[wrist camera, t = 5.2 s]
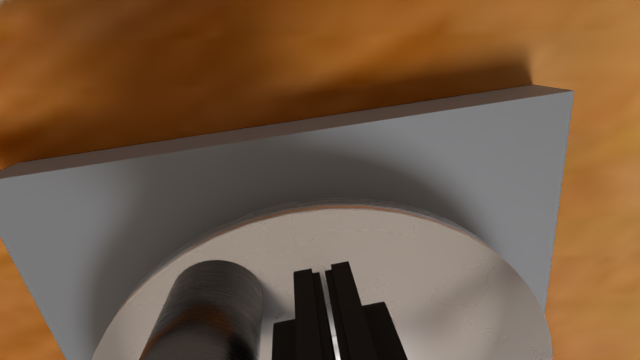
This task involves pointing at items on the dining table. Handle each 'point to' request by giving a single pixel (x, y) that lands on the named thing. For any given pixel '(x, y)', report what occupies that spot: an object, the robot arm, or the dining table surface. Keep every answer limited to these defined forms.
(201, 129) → the dining table surface
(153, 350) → the handwheel
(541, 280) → the grey base block
